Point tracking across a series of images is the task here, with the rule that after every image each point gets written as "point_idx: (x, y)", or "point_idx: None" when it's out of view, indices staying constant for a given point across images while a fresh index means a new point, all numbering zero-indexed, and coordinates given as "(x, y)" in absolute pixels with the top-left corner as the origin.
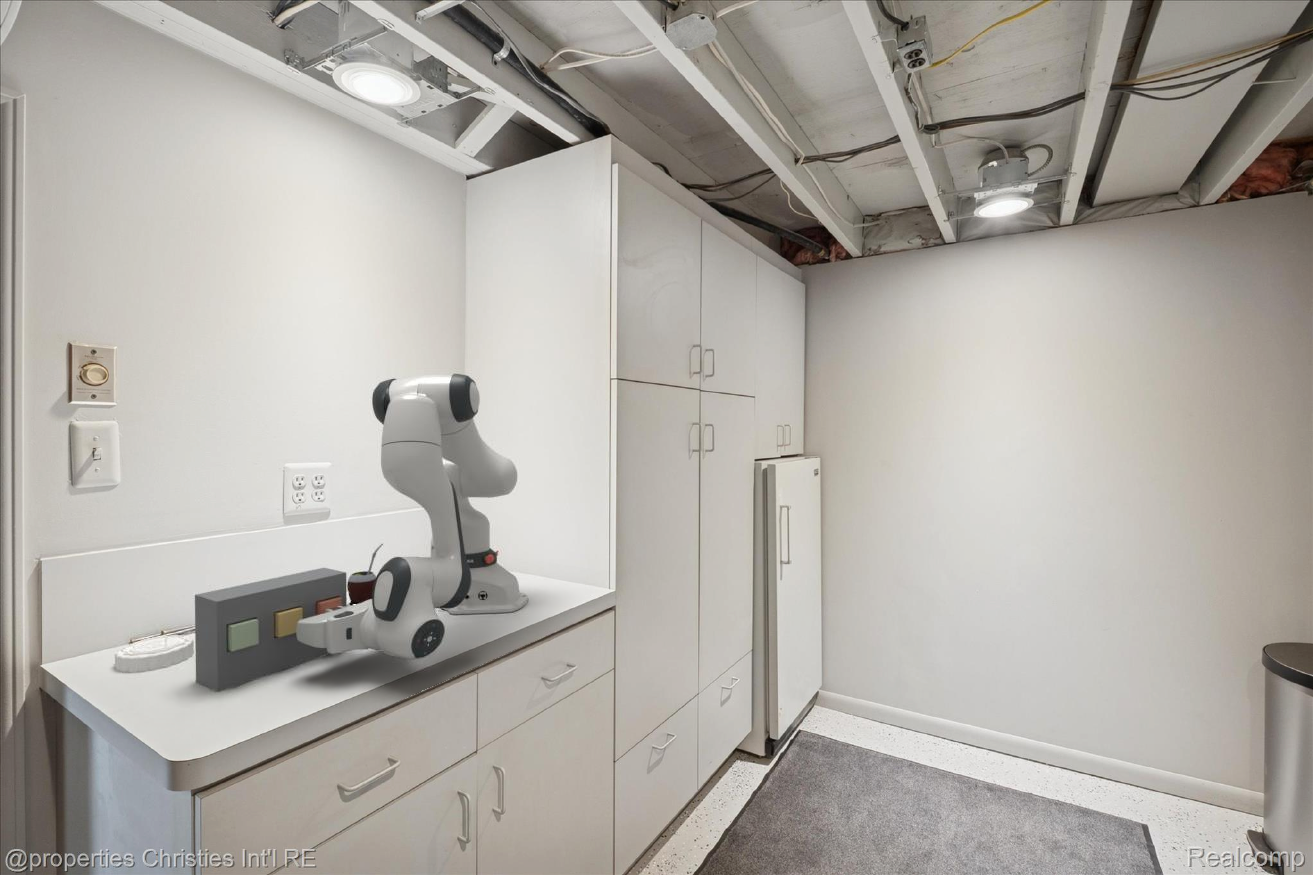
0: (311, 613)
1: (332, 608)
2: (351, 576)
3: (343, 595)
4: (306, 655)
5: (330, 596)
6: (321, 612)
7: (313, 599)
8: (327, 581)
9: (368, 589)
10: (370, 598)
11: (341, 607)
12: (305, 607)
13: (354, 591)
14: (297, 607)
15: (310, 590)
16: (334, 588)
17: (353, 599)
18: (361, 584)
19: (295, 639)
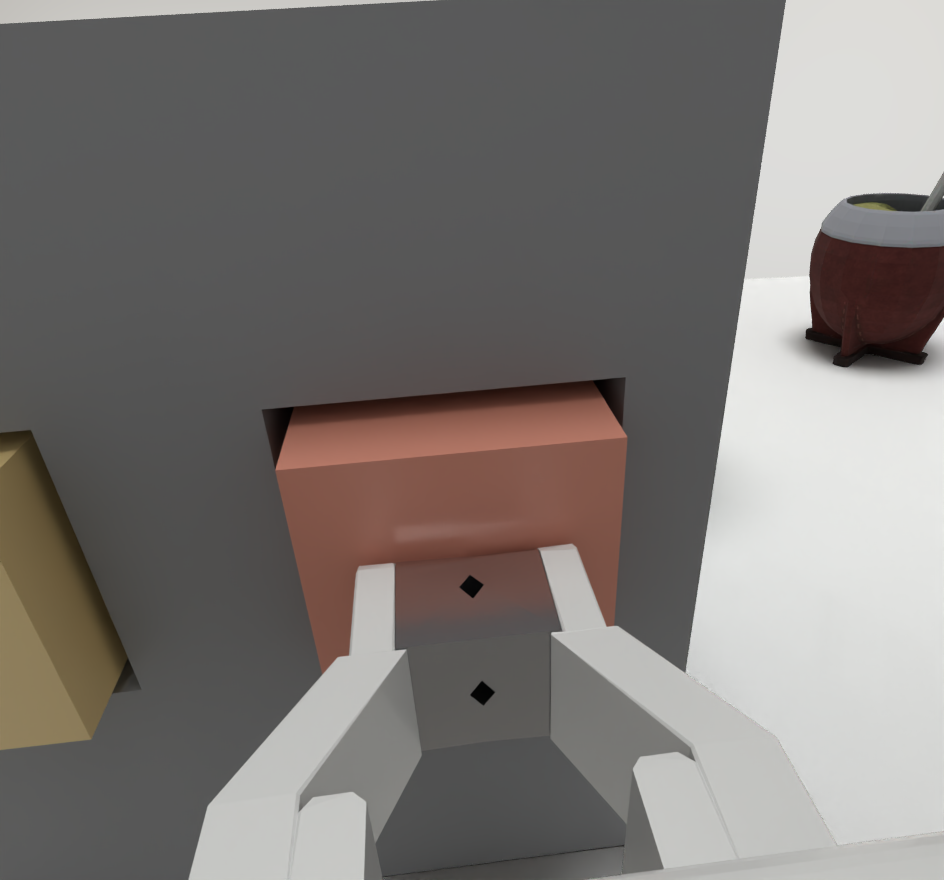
0: (228, 545)
1: (442, 587)
2: (840, 208)
3: (682, 386)
4: None
5: (485, 371)
6: (316, 582)
7: (213, 376)
8: (419, 108)
9: (912, 290)
10: (907, 334)
11: (563, 635)
12: (119, 464)
13: (838, 287)
14: (13, 444)
15: (125, 224)
16: (548, 259)
17: (825, 321)
18: (882, 258)
19: (103, 752)
